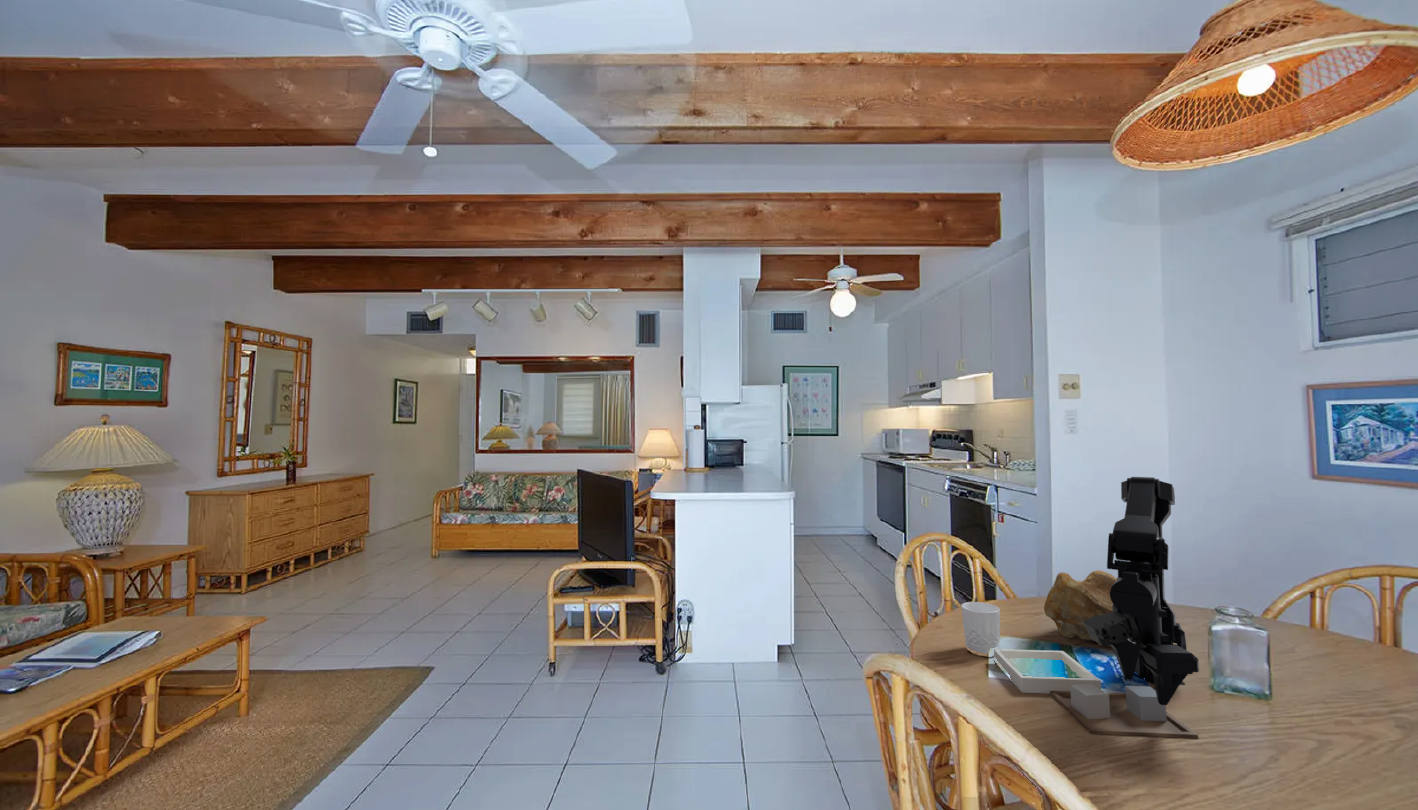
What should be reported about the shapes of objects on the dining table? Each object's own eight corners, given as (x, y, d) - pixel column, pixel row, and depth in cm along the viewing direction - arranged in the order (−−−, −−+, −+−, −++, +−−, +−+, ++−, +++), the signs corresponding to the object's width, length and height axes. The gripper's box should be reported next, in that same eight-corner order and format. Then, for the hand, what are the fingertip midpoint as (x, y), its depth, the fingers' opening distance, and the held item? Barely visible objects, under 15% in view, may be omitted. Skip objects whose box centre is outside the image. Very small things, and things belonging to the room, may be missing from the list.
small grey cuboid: (1093, 706, 100) (1091, 683, 100) (1110, 718, 96) (1108, 694, 96) (1071, 707, 100) (1070, 684, 100) (1087, 719, 96) (1086, 695, 96)
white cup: (998, 661, 121) (996, 614, 121) (959, 653, 126) (957, 608, 126) (1004, 649, 127) (1002, 605, 128) (967, 642, 132) (965, 599, 132)
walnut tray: (1142, 699, 103) (1142, 693, 103) (1198, 741, 89) (1198, 734, 89) (1050, 696, 105) (1050, 690, 105) (1091, 736, 91) (1090, 730, 91)
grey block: (1151, 709, 98) (1149, 686, 98) (1166, 721, 94) (1165, 697, 94) (1126, 708, 99) (1125, 685, 99) (1141, 720, 95) (1139, 696, 95)
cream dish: (1063, 666, 118) (1063, 650, 118) (1101, 697, 104) (1100, 680, 104) (994, 664, 120) (993, 649, 120) (1022, 695, 106) (1021, 677, 106)
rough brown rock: (1104, 663, 120) (1108, 595, 120) (1032, 632, 136) (1035, 572, 135) (1165, 647, 130) (1169, 584, 130) (1092, 620, 145) (1095, 563, 145)
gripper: (1063, 585, 108) (1067, 667, 107) (1122, 618, 89) (1127, 717, 89) (1125, 586, 106) (1130, 669, 106) (1198, 619, 88) (1204, 720, 87)
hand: (1144, 691), depth 97 cm, fingers open, 9 cm apart
